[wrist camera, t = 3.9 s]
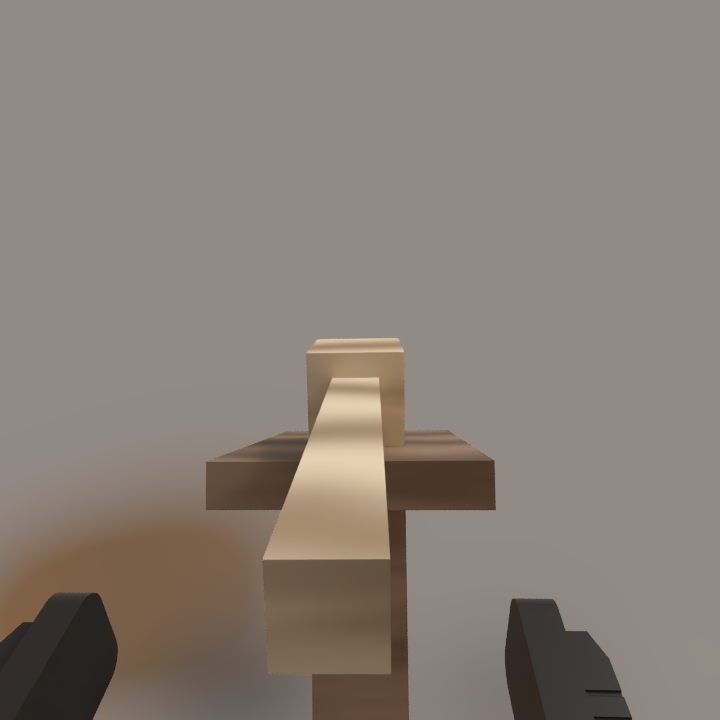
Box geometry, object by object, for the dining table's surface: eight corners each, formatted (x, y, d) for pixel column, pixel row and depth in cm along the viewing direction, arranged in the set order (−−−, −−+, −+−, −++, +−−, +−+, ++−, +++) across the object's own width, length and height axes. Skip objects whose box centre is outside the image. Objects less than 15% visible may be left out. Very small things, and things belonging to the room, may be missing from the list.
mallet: (320, 417, 35) (317, 339, 34) (399, 416, 34) (398, 338, 34) (205, 732, 11) (189, 494, 10) (457, 733, 11) (461, 492, 10)
